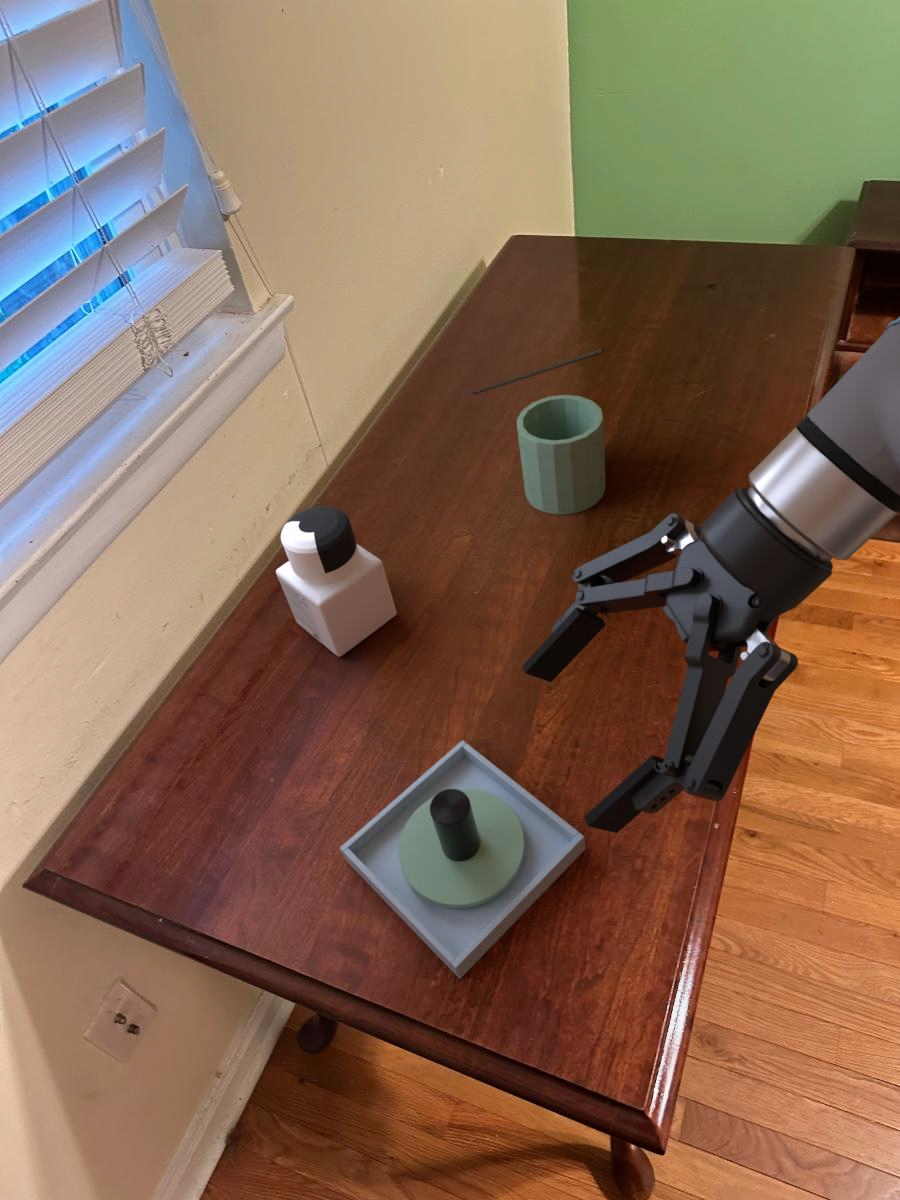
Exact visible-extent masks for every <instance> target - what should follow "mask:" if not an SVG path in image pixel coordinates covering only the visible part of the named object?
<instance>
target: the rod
mask: <svg viewBox="0 0 900 1200" xmlns="http://www.w3.org/2000/svg"><path fill="white" fill-rule="evenodd" d="M602 353H603V350H602V349H601V348H599V349H596V350H593V351H590V352H586V353H583V354H580V355H578V356H574V357H571V358H569V359H566V360H563V361H559V362H556V363H552V364H550V365H546V366H544V367H540V368H537V369H535V370H531V371H529V372H526V373H523V374H520V375H516V376H513V377H510V378H508V379H507V378H506V379H503V380H501V381H498V382H494V383H492V384H488V385H486V386H483V387H480V388H477V389H473V390H472V391H471V393H472V395H474V396H475V395H478V394H481V393H483V392H487V391H490V390H493V389H495V388H500V387H502V386H506V385H509V384H511V383H515V382H518V381H521V380H523V379H526V378H530V377H532V376H536V375H538V374H543V373H545V372H548V371H551V370H554V369H557V368H560V367H563V366H566V365H569V364H573V363H575V362H576V363H577V362H579V361H582V360H585V359H588V358H591V357H595V356H596V355H600V354H602Z"/></svg>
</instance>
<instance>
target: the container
mask: <svg viewBox="0 0 900 1200" xmlns="http://www.w3.org/2000/svg"><path fill="white" fill-rule="evenodd" d="M280 542H281V544H282V547H283V549H284V551H285V554H286V556H287V559H288V561H287V562H285V563H283V564H282V565H280V566H279V567H278V568H276V570H275V574H276V576H277V579H278V581H279V583H280V586H281V588H282V591H283V594H284V595H285V598H286V600H287V603H288V606H289V608H290V610H291V612H292V614H293V617H294V619H295V622H296V623H297V624H298V625H299V626H300V627H301V628H303V629H304V630H305V631H306V632H307V633H309V634H310V635H311V636H312V637H314V639H316V640H317V641H318V642H319V643H321V645H322V646H324V647H325V648H327V649H328V650H329V651H330V652H332V653H333V654H334V655H335V656H336V657H338V658H340V657H342V656H344V655H345V654H347V653H348V652H349V651H350V650H352V649H354V648H355V647H356V646H357V645H358V644H360V643H361V642H362V641H364V640H365V639H367V638H368V637H369V636H370V635H372V634H373V633H374V632H376V631H378V630H379V629H380V628H381V627H383V626H384V625H385V624H386V623H388V622H389V621H391V619H393V618H394V617H396V616H397V608H396V605H395V602H394V598H393V595H392V593H391V592H392V591H391V588H390V585H389V582H388V577H387V574H386V570H385V567H384V565H383V564H384V563H383V561H382V560H381V559H380V558H379V557H377V556H376V555H374V554H372V553H371V552H370V551H369V550H367V549H365V547H363V546H361V545H359V544H358V543H357V541H356V537H355V534H354V531H353V528H352V525H351V521H350V519H349V517H348V515H347V514H346V513H345V512H344V511H343V510H341V509H339V508H336V507H333V506H329V505H318V506H313V507H309V508H306V509H303V510H301V511H299V512H297V513H295V514H294V515H293V516H291V518H290V519H288V520H287V522H286V523H285V525H284V526H283V527H282V530H281V533H280Z"/></svg>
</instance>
